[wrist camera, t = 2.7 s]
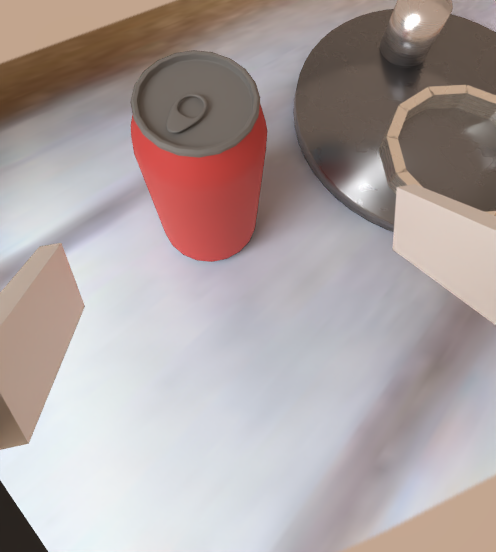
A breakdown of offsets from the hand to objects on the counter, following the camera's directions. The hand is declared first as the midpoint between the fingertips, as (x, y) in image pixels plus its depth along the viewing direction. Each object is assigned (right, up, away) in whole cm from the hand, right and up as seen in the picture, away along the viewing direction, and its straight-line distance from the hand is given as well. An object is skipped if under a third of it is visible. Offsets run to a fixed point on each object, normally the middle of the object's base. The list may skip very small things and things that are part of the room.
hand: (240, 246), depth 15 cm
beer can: (-2, +3, +13) cm, 13 cm away
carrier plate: (+15, +12, +16) cm, 25 cm away
